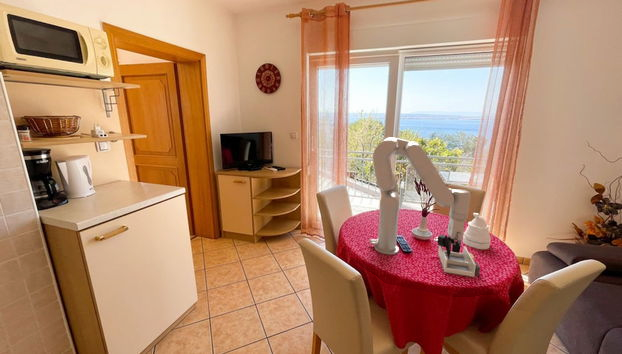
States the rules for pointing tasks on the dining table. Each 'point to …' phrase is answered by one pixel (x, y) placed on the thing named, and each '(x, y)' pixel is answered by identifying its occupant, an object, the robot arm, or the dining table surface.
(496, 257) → the dining table surface
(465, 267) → the two-cubby white shelf
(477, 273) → the grey flat block
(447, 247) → the power plug
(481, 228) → the honey pot
